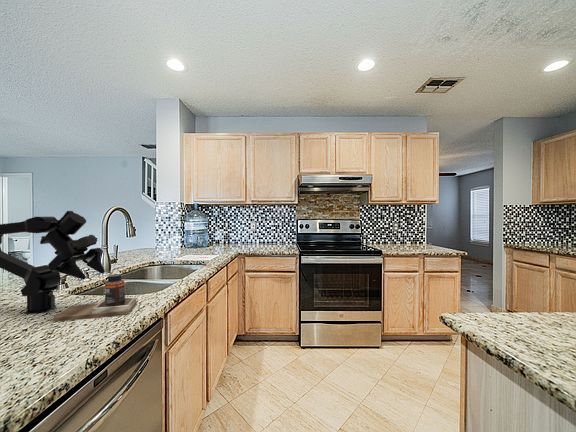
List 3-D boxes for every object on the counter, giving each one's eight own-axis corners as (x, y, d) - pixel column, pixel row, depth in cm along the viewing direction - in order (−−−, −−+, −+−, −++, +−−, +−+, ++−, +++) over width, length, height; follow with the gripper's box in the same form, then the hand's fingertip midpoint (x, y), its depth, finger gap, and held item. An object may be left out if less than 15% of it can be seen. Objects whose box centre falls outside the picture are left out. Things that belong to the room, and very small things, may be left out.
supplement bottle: (127, 303, 101) (126, 272, 101) (122, 308, 95) (122, 275, 95) (108, 305, 99) (107, 273, 99) (102, 310, 93) (102, 277, 93)
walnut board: (53, 321, 87) (53, 312, 87) (71, 309, 98) (71, 301, 98) (128, 314, 93) (128, 306, 93) (136, 303, 104) (136, 296, 104)
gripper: (57, 229, 88) (91, 264, 88) (98, 226, 106) (126, 255, 106) (32, 254, 88) (66, 288, 88) (78, 247, 107) (106, 275, 106)
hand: (94, 275), depth 97 cm, fingers open, 9 cm apart
